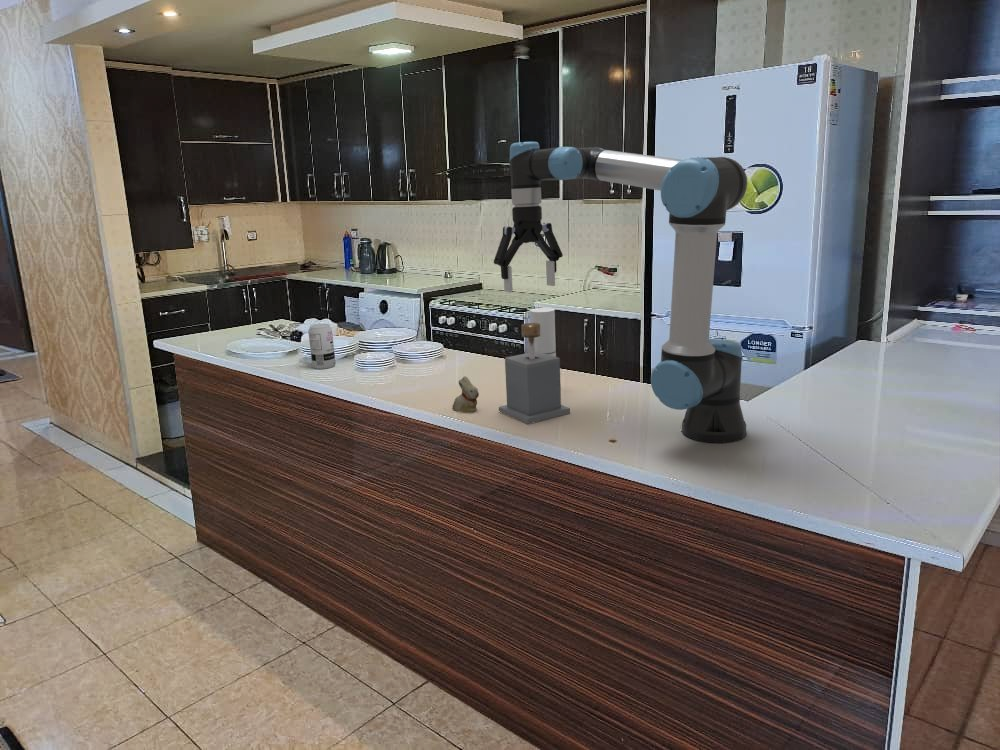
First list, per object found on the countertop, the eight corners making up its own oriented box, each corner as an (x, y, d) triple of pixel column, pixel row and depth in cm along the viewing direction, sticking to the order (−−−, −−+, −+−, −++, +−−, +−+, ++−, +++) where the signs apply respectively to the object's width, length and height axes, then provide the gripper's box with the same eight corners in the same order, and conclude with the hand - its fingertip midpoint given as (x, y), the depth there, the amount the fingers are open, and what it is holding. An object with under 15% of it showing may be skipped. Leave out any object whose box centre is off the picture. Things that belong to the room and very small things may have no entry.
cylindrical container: (555, 395, 216) (552, 312, 210) (531, 395, 218) (528, 312, 211) (558, 389, 223) (556, 307, 217) (535, 388, 225) (532, 307, 218)
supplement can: (311, 365, 268) (307, 325, 264) (334, 363, 270) (330, 322, 266) (313, 370, 260) (308, 329, 257) (336, 367, 263) (332, 326, 259)
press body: (570, 413, 200) (568, 357, 196) (527, 424, 193) (525, 367, 189) (539, 402, 211) (537, 349, 207) (498, 411, 204) (496, 357, 200)
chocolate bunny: (464, 415, 203) (462, 380, 200) (450, 408, 209) (447, 374, 207) (481, 411, 206) (479, 376, 203) (466, 404, 212) (464, 371, 210)
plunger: (554, 398, 200) (552, 324, 194) (529, 404, 195) (526, 329, 190) (536, 391, 206) (534, 320, 201) (512, 397, 202) (509, 324, 197)
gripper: (556, 202, 197) (559, 281, 202) (477, 208, 184) (482, 292, 190) (574, 202, 191) (576, 284, 196) (493, 208, 178) (497, 295, 183)
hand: (530, 288), depth 193 cm, fingers open, 13 cm apart
